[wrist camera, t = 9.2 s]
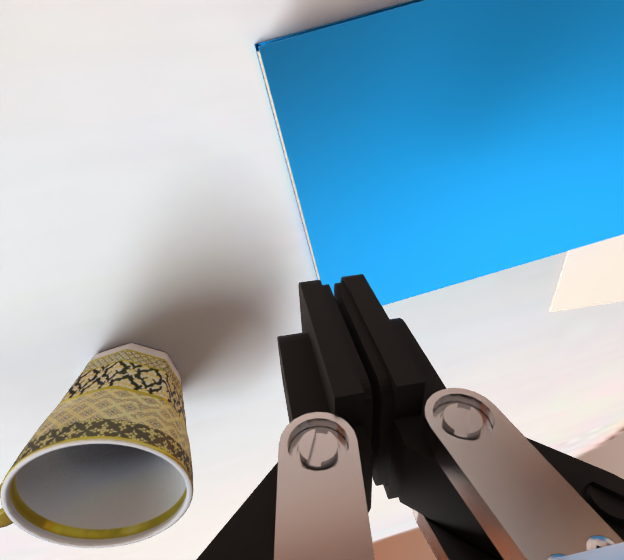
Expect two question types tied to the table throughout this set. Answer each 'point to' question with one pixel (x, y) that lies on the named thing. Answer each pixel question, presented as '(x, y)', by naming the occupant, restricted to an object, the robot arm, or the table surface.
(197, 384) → the table surface
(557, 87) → the book
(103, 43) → the table surface
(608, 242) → the mat
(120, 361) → the ceramic cup
